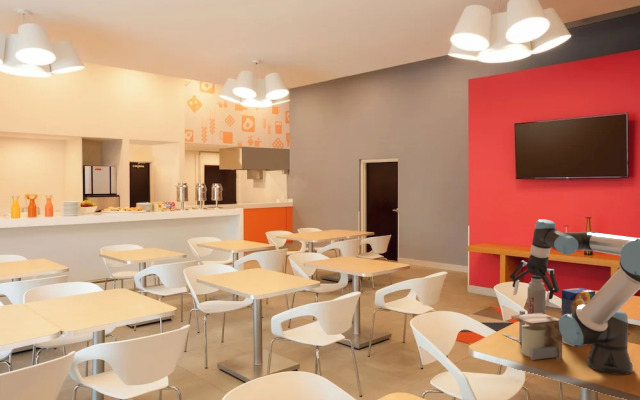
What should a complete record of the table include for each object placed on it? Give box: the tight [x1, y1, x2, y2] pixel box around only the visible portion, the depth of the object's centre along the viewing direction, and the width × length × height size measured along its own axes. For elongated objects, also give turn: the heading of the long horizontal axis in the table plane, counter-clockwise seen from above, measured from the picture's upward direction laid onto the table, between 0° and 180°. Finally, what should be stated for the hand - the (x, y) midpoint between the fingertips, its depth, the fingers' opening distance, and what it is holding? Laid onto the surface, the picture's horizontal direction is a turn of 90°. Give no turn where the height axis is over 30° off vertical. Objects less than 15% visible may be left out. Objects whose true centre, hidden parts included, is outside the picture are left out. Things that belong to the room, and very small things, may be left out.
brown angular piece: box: [502, 313, 563, 360], centre depth 206 cm, size 34×16×16 cm, turn 17°
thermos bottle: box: [526, 275, 547, 314], centre depth 226 cm, size 8×8×28 cm
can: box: [520, 324, 545, 358], centre depth 198 cm, size 9×9×12 cm
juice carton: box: [561, 287, 596, 348], centre depth 212 cm, size 12×8×24 cm, turn 110°
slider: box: [518, 310, 558, 361], centre depth 201 cm, size 21×13×14 cm, turn 17°
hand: (530, 299), depth 206 cm, fingers open, 13 cm apart
